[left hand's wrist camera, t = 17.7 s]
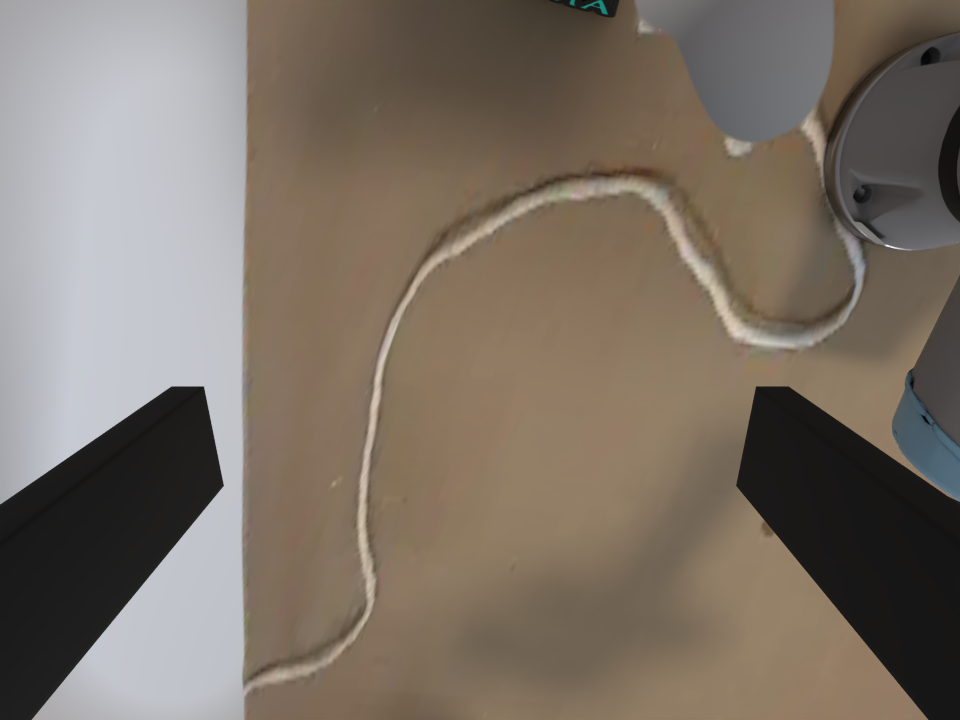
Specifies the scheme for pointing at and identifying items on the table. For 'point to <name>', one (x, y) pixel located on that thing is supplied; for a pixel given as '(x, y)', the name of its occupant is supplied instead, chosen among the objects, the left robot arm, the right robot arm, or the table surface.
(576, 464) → the table surface
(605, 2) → the decorative sign
